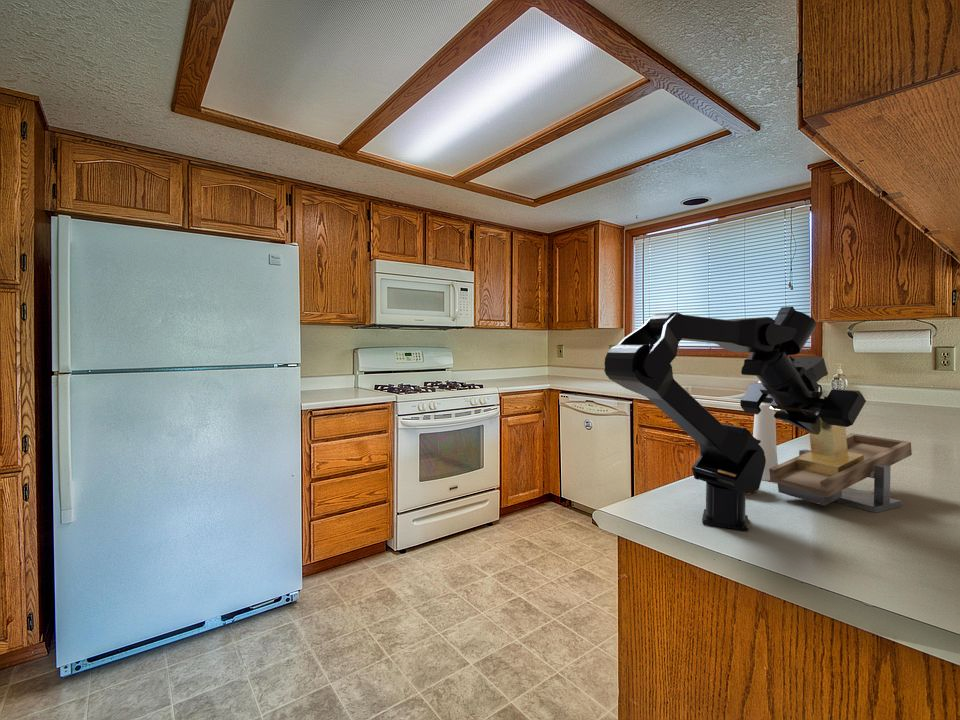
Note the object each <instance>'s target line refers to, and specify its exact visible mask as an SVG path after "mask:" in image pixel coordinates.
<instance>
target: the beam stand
mask: <svg viewBox="0 0 960 720" xmlns="http://www.w3.org/2000/svg"><path fill="white" fill-rule="evenodd" d="M809 451H811V449H810V450H809V449H799V451H798V453H799V454H798V456H800V455H802V454H804V453H807V452H809ZM891 467H892V465H891V466H888V465H883V464H879V465H875V473H874V478H873V480H874V482H873V487H874V489H873V493H871V492H868V491H864V490H859V489H855V488H851V487H847V488H845V489H843V490H842V497H840V498H838V499H836V500H835V501H834V502H836V503H839V504H842V505H845V504H847V505H846V506H849V505H850V506H849V507H852V506H854V507H853V508H856V507H857V509H860V508H861V509H860V510H863V509H864V511H866V512H870V511H871V513H873V514H874V513H876V512H877V513H881V512H883V511H888V510H892V509H896V508H901V507H902V500H900V499H896V498H892V497H891V471H892V470H891V469H892V468H891ZM877 513H876V514H877Z"/></svg>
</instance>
